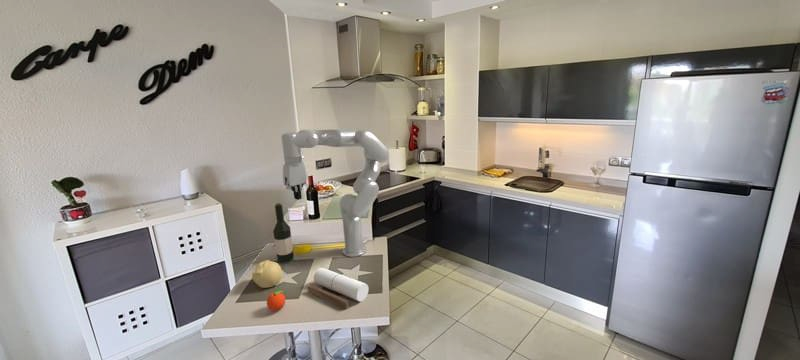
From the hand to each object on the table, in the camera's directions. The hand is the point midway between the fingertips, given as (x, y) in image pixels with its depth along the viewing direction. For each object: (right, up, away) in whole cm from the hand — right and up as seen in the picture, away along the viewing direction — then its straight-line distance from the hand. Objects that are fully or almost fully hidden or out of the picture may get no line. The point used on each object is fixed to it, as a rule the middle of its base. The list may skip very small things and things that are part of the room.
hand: (298, 198), depth 153 cm
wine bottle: (-12, -32, +18) cm, 39 cm away
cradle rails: (+21, -39, -13) cm, 46 cm away
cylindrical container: (+12, -34, -6) cm, 36 cm away
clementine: (-1, -42, -22) cm, 48 cm away
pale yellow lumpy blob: (-12, -38, -4) cm, 40 cm away
